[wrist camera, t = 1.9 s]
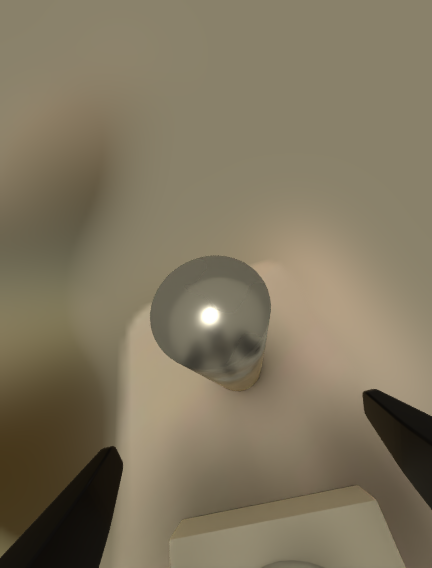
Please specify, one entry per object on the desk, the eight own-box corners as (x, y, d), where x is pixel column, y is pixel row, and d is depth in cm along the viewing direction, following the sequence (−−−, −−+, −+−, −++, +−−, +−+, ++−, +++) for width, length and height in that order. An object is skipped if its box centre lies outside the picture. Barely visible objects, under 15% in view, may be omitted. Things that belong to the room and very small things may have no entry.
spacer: (268, 385, 17) (290, 351, 6) (217, 396, 17) (151, 383, 6) (253, 334, 20) (250, 244, 8) (208, 345, 20) (149, 270, 9)
